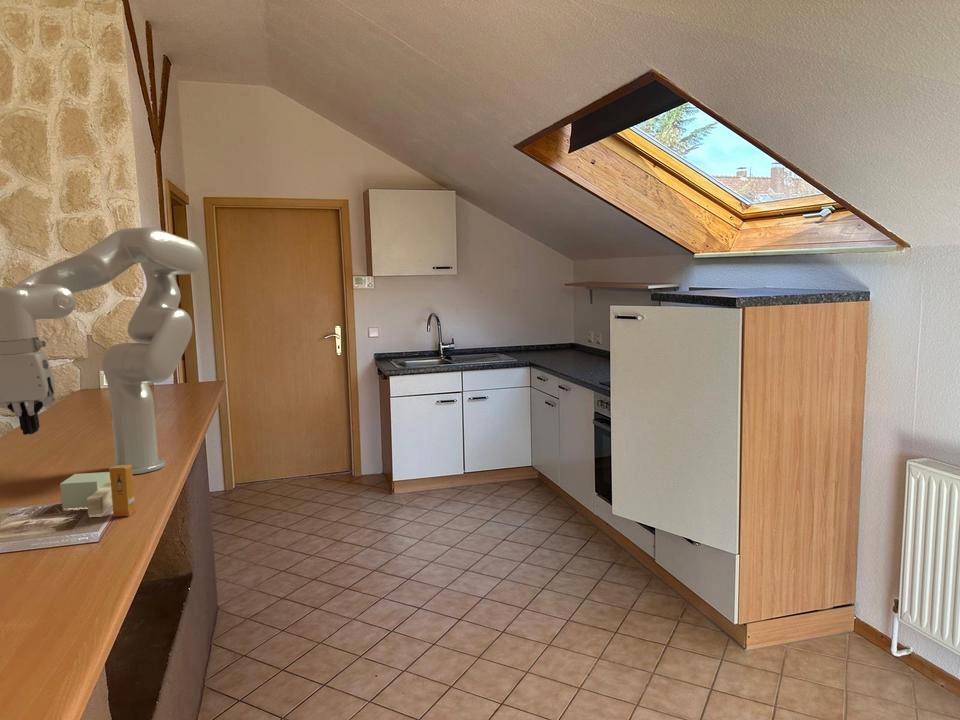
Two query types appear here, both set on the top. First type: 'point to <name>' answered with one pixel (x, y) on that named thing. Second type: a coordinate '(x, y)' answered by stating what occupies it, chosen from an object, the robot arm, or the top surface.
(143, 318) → the robot arm
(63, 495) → the green block
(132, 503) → the supplement box
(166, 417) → the top surface
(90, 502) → the birch board
